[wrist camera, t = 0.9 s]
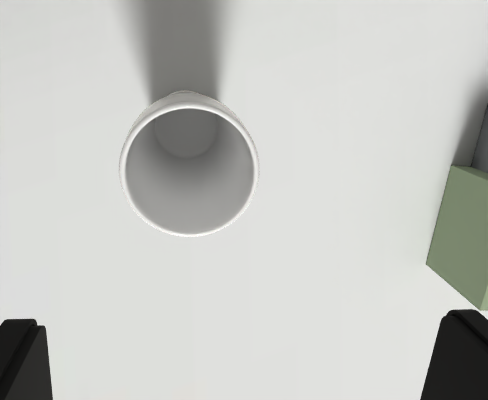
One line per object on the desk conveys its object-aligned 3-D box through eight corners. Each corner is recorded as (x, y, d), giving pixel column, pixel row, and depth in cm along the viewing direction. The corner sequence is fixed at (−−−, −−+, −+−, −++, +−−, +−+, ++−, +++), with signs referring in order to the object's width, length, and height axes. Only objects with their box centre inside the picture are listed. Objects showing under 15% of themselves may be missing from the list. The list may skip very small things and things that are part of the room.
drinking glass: (153, 171, 35) (135, 251, 21) (134, 87, 32) (99, 113, 18) (234, 157, 35) (269, 225, 21) (221, 73, 33) (252, 88, 19)
